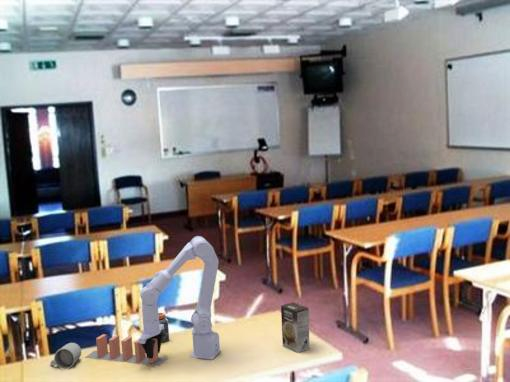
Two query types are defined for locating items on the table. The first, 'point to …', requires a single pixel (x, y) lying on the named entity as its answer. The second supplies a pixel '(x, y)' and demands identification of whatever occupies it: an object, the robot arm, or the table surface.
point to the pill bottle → (166, 331)
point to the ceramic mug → (67, 355)
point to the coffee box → (295, 327)
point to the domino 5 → (154, 352)
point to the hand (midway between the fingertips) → (153, 355)
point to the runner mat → (131, 360)
